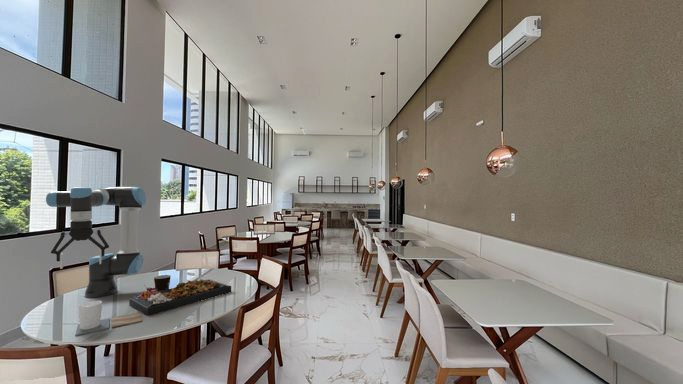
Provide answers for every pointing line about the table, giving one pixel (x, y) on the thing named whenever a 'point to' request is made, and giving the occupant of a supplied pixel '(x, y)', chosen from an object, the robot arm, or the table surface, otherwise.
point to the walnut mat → (126, 319)
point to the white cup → (90, 314)
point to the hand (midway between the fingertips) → (81, 265)
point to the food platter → (177, 296)
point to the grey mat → (103, 326)
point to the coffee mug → (162, 282)
